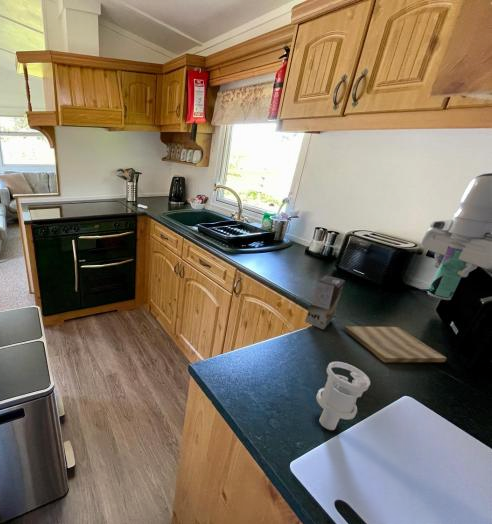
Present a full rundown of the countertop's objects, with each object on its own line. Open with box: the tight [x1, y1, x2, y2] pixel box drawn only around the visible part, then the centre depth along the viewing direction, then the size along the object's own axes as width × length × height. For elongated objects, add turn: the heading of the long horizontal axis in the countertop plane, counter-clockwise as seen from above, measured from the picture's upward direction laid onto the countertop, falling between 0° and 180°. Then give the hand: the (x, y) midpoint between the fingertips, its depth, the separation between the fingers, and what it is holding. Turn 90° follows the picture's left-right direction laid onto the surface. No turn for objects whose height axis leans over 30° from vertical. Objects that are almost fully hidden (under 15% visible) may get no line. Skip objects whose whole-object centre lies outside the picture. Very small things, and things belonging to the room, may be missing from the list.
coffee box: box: [304, 274, 346, 330], centre depth 99 cm, size 9×6×16 cm
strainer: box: [315, 361, 371, 431], centre depth 60 cm, size 7×7×15 cm
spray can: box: [427, 242, 468, 301], centre depth 90 cm, size 6×6×20 cm
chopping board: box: [343, 325, 448, 363], centre depth 92 cm, size 20×16×2 cm
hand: (449, 271), depth 90 cm, fingers closed on spray can, 5 cm apart
